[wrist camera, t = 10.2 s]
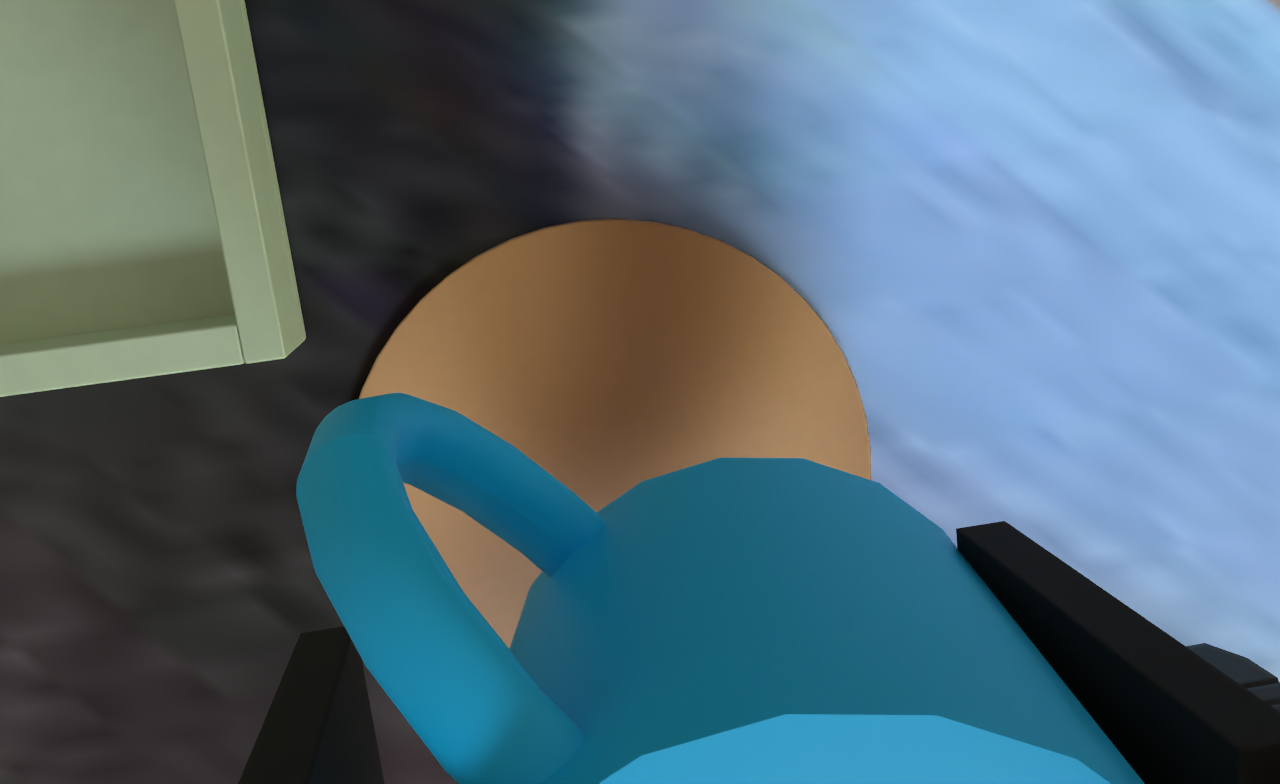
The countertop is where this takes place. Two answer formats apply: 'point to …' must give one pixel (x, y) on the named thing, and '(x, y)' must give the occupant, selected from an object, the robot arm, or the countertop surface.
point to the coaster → (616, 374)
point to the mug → (681, 622)
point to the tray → (136, 195)
